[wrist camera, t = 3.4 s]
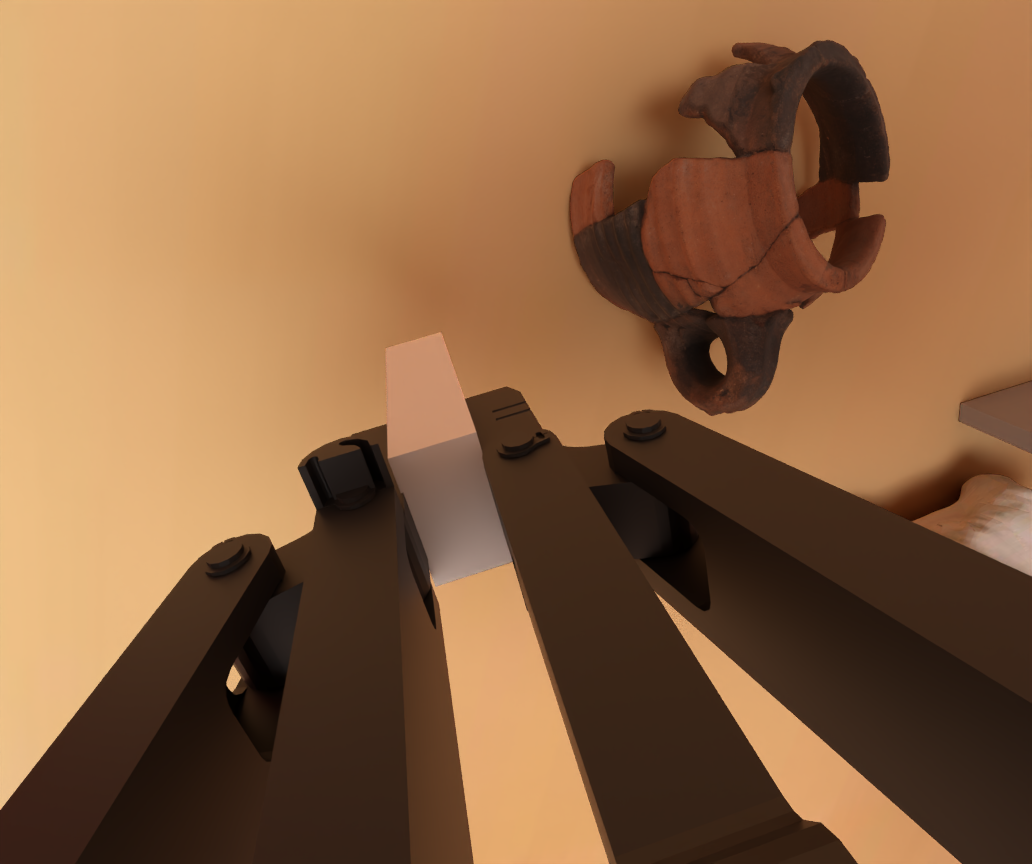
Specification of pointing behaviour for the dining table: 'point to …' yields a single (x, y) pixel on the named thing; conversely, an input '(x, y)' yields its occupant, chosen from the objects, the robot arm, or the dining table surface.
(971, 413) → the walled box
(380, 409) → the dining table surface
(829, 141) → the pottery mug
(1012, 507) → the ceramic sculpture
